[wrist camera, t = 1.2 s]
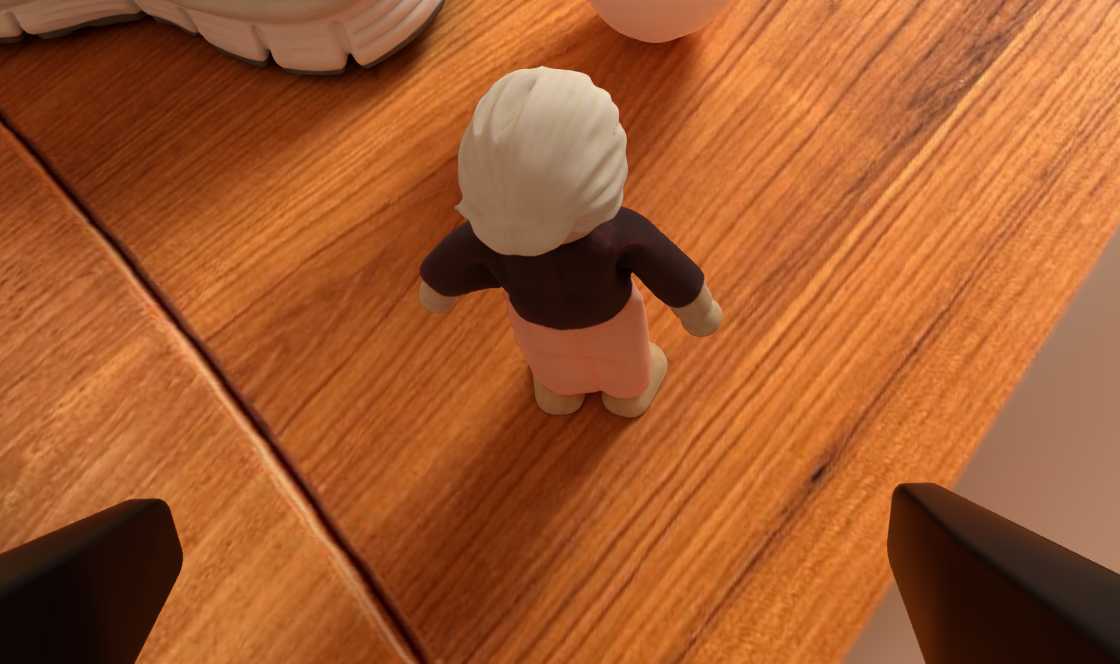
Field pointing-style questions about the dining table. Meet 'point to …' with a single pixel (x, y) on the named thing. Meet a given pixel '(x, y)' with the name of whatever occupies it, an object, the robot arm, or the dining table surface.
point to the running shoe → (247, 26)
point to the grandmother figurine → (564, 243)
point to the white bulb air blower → (657, 17)
